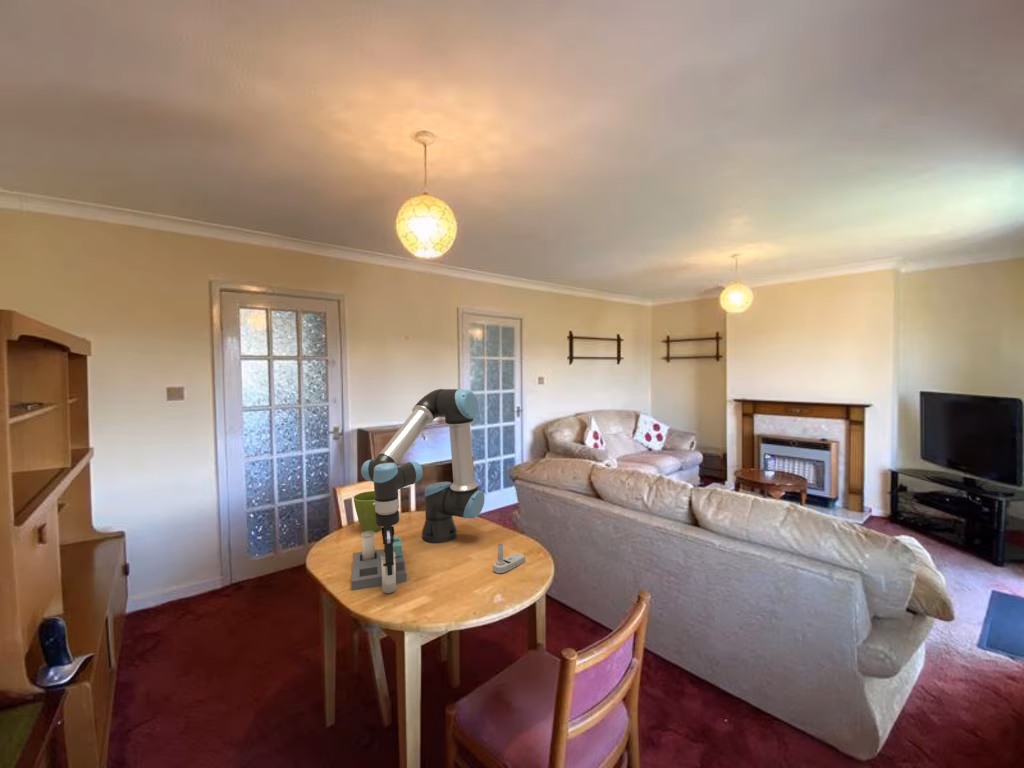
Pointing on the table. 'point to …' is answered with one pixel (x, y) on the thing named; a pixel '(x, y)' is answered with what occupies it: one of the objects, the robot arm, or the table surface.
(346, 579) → the table surface
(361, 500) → the flower pot
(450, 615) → the table surface
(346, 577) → the table surface
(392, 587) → the cream peg
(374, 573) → the housing
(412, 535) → the table surface
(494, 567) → the electronic device
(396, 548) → the lid
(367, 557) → the white cylinder
